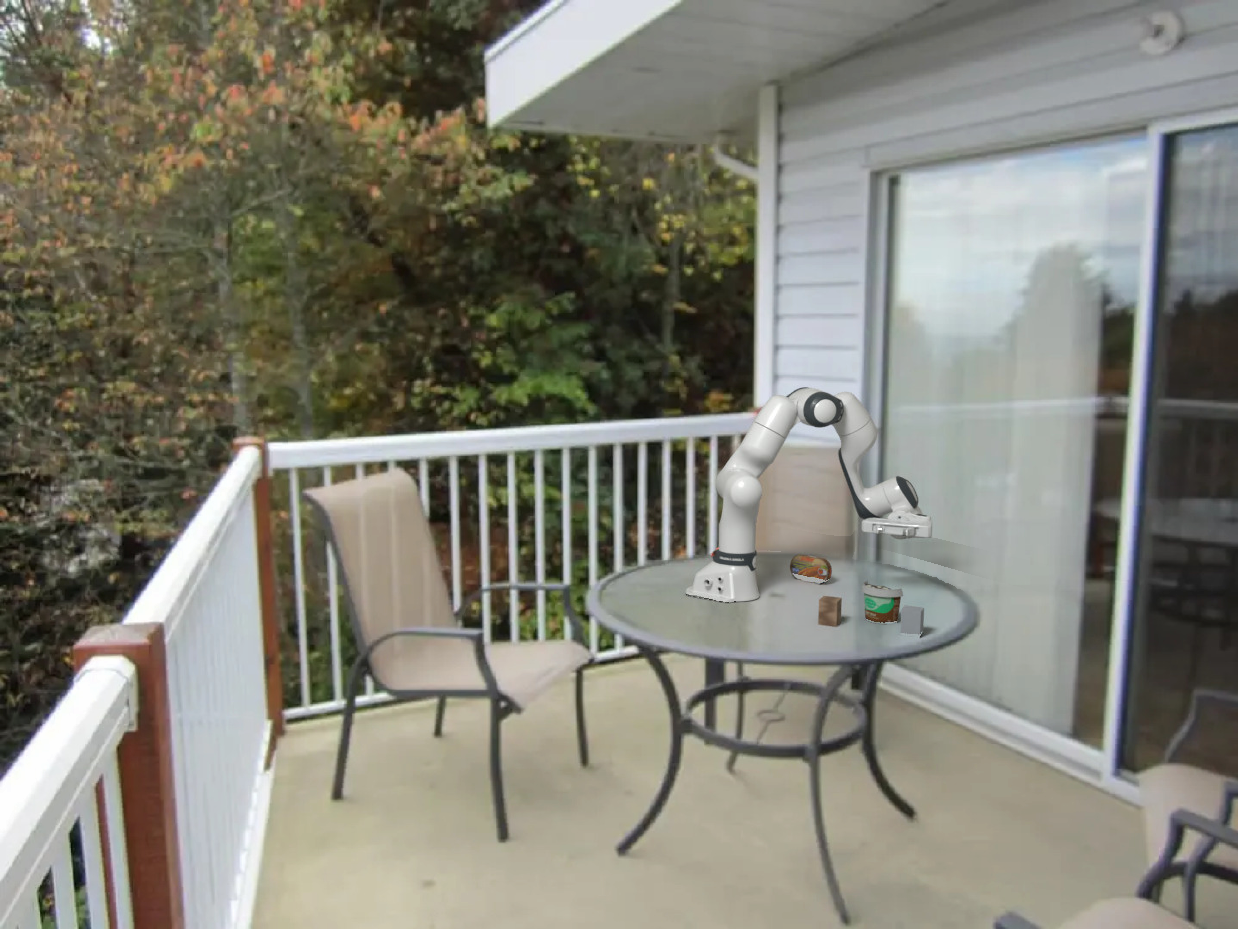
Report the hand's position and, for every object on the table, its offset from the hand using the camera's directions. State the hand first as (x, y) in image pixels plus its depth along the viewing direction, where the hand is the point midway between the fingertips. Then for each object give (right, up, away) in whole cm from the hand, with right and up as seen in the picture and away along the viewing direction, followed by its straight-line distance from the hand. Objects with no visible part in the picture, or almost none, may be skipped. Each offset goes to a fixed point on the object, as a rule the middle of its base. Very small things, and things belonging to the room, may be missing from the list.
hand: (892, 532), depth 285 cm
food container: (-8, -24, -12) cm, 28 cm away
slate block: (-2, -25, -24) cm, 35 cm away
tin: (-17, -18, +33) cm, 42 cm away
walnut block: (-21, -24, -15) cm, 35 cm away
